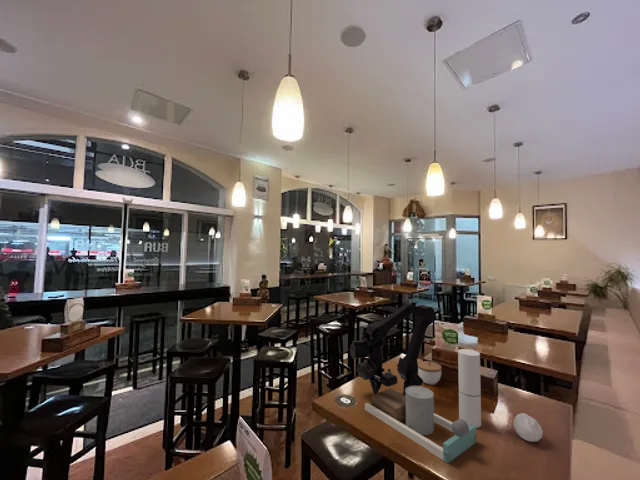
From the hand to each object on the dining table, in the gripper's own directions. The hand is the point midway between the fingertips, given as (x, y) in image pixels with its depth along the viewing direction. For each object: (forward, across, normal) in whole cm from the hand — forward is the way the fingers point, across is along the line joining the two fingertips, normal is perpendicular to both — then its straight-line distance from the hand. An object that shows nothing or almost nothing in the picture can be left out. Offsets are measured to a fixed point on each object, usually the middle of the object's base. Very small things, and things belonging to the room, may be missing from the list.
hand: (375, 394), depth 119 cm
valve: (+3, -14, +16) cm, 21 cm away
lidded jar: (+3, +1, +35) cm, 35 cm away
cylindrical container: (+3, +30, +18) cm, 35 cm away
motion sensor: (+3, +45, +24) cm, 52 cm away
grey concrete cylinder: (+3, +21, 0) cm, 21 cm away
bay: (+3, +21, 0) cm, 21 cm away
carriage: (+3, +9, 0) cm, 10 cm away
